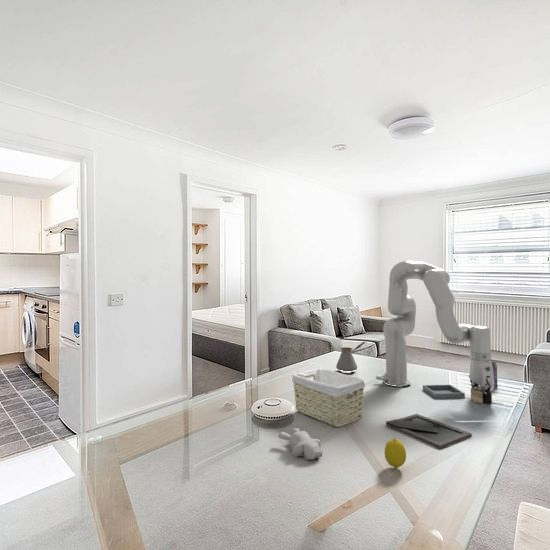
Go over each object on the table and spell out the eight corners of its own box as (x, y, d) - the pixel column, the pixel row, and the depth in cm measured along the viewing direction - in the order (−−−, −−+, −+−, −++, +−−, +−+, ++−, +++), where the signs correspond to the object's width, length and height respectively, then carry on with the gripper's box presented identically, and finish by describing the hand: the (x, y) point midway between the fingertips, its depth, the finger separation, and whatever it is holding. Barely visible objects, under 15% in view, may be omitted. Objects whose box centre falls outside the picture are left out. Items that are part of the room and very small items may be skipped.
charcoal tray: (435, 399, 154) (435, 393, 154) (422, 390, 167) (422, 385, 167) (464, 399, 154) (464, 393, 154) (450, 390, 167) (450, 384, 167)
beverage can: (492, 384, 174) (492, 359, 174) (500, 389, 167) (499, 362, 167) (477, 384, 175) (476, 359, 175) (484, 388, 168) (483, 362, 168)
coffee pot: (347, 375, 195) (346, 347, 195) (331, 371, 204) (331, 344, 204) (374, 369, 207) (373, 342, 207) (358, 365, 216) (357, 340, 216)
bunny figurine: (303, 452, 101) (275, 427, 114) (302, 469, 102) (274, 443, 115) (330, 443, 106) (300, 420, 119) (329, 460, 107) (299, 435, 120)
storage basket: (367, 419, 135) (366, 378, 135) (337, 431, 125) (336, 387, 125) (320, 402, 153) (319, 367, 154) (291, 412, 143) (290, 373, 144)
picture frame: (385, 427, 128) (440, 451, 110) (385, 421, 128) (440, 444, 110) (416, 417, 136) (471, 438, 118) (416, 412, 136) (471, 432, 118)
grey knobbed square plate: (477, 405, 147) (476, 391, 147) (466, 398, 155) (466, 385, 155) (497, 404, 147) (496, 391, 147) (485, 398, 155) (485, 385, 155)
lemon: (381, 463, 102) (381, 434, 102) (401, 462, 102) (400, 433, 103) (389, 474, 96) (389, 443, 97) (410, 473, 97) (409, 442, 97)
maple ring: (477, 403, 147) (477, 392, 147) (468, 398, 154) (468, 387, 154) (495, 403, 147) (494, 391, 147) (484, 397, 154) (484, 386, 154)
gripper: (502, 361, 142) (504, 407, 142) (477, 352, 160) (478, 393, 159) (483, 361, 142) (484, 407, 142) (460, 352, 160) (461, 393, 159)
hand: (481, 399), depth 151 cm, fingers closed on maple ring, 7 cm apart
